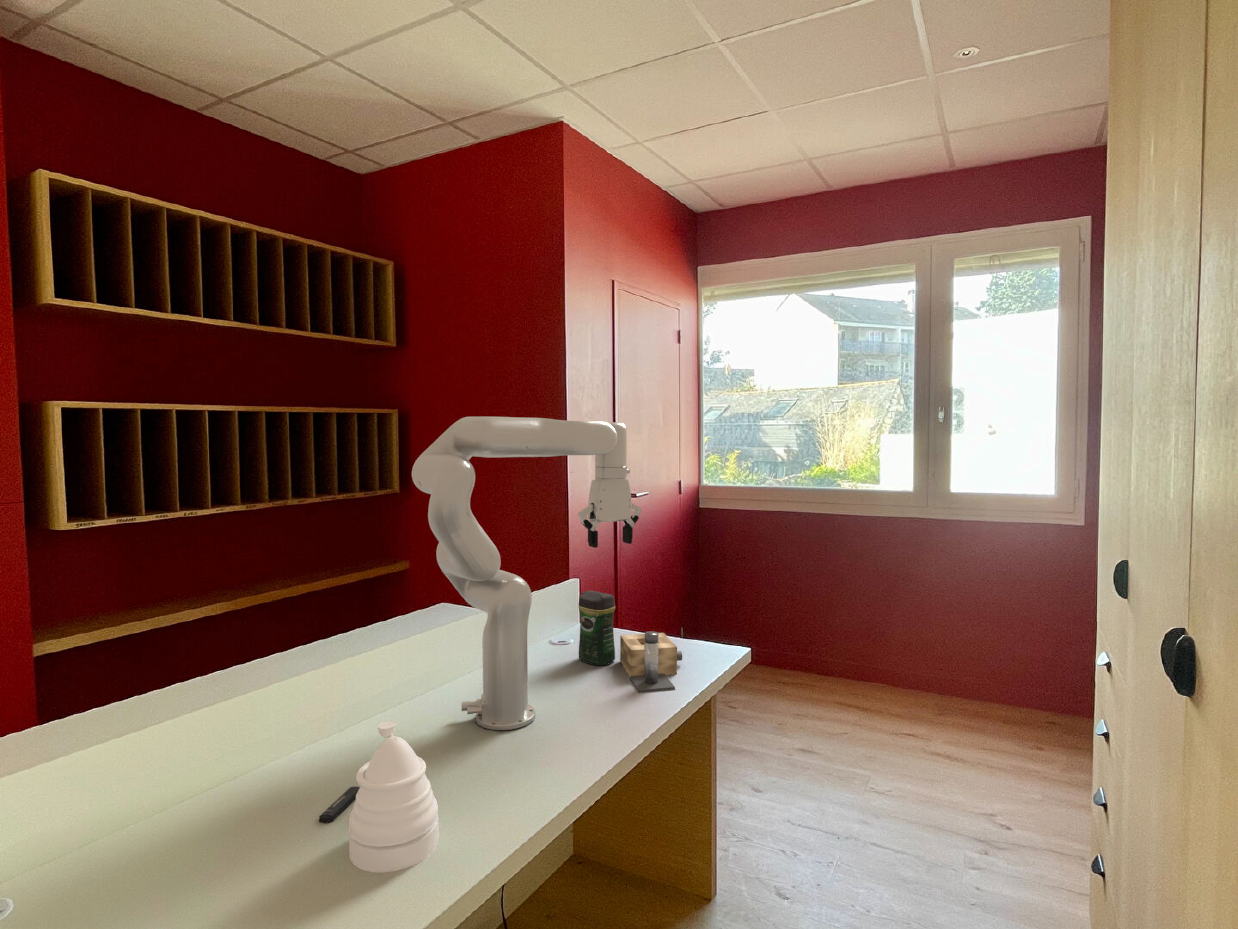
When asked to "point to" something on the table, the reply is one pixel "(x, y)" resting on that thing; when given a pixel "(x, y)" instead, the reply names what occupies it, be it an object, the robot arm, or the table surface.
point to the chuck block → (635, 654)
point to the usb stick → (339, 805)
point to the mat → (661, 685)
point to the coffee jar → (596, 628)
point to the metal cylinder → (651, 657)
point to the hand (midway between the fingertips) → (610, 544)
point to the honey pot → (392, 809)
